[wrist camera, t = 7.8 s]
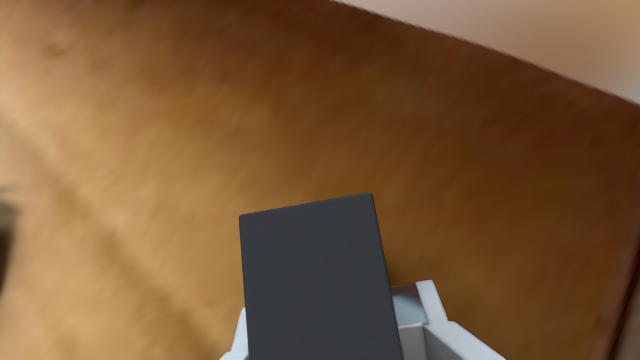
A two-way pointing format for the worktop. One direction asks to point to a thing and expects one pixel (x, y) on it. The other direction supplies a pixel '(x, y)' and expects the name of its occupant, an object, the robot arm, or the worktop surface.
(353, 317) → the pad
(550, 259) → the worktop surface
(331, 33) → the worktop surface
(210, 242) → the worktop surface
